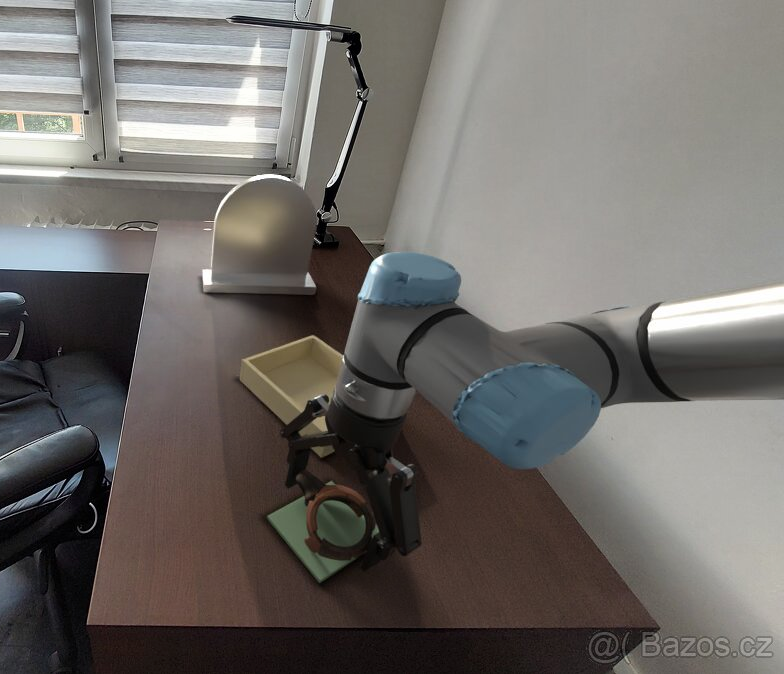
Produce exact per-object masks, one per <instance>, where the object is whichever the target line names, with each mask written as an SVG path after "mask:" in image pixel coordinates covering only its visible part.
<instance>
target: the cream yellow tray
mask: <svg viewBox="0 0 784 674" xmlns="http://www.w3.org/2000/svg"><path fill="white" fill-rule="evenodd" d="M343 356H344V354H341V353H340V352H339V351H337V350H336V349H334V347H331V346H330V345H328V344H327V343H326V342H324V341H323V340H321V339H320V338H319V337H317V336H316V335H314V334H311V335H310V336H306V337H303V338H300V339H298V340H295V341H292V342H289V343H286V344H284V345H280V346H278V347H274V348H272V349H268V350H266V351H263V352H260V353H257V354H255V355H252V356H249V357H246V358H242V359H241V366H240V374H239V381H240V382H241V383H242V384H244V386H245V387H246V388H247V389H248V390H250V391H251V393H253V394H254V395H255V396H256V397H257V398H258V399H259V400H260V401H261V402H262V403H263V404H264V405H265V406H266V407H267V408H269V410H271V412H273V414H274V415H276V416H277V417H278V418H279V420H281V421H282V422H283V423H284V424H285V426H286V425H288V424H289V423H290V422H291V421H292V420H293V419H295V418H296V417H297V416H298V415H299V414H301V413H302V412H303V411H304V410H305V407H306V404H307V402H308V400H310V399H313V398H315V397H317V396H320V395H322V394H326V395H327V396H328V397H329V403H328V404H329V405H330V401H331V397H332V394H333V391H334V389H335V387H336V381H337V377H338V373H339V370H340V366H341V363H342V359H343ZM323 431H328V430H327V427H326V423H325V416H322V417H320V418H319V417H318V418H316V419H315V420H314V421H312V422H311V423H310V424H308V425H307V426H306V427H305V428H303V429H302V430H301V431H299V434H300V435H301V436H303V435H305V434H307V435H309V434H313V433H318V432H323ZM310 449H311V450H312V451H313V452H314V453H315V454H317V455H318V457H320V459H323V458H324V457H326V456H328V455H330V454H333V453H334V451H335V450H334V449H333V447H332V445H331V446H324V447H320V446H318V447H312V448H310Z"/></svg>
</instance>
